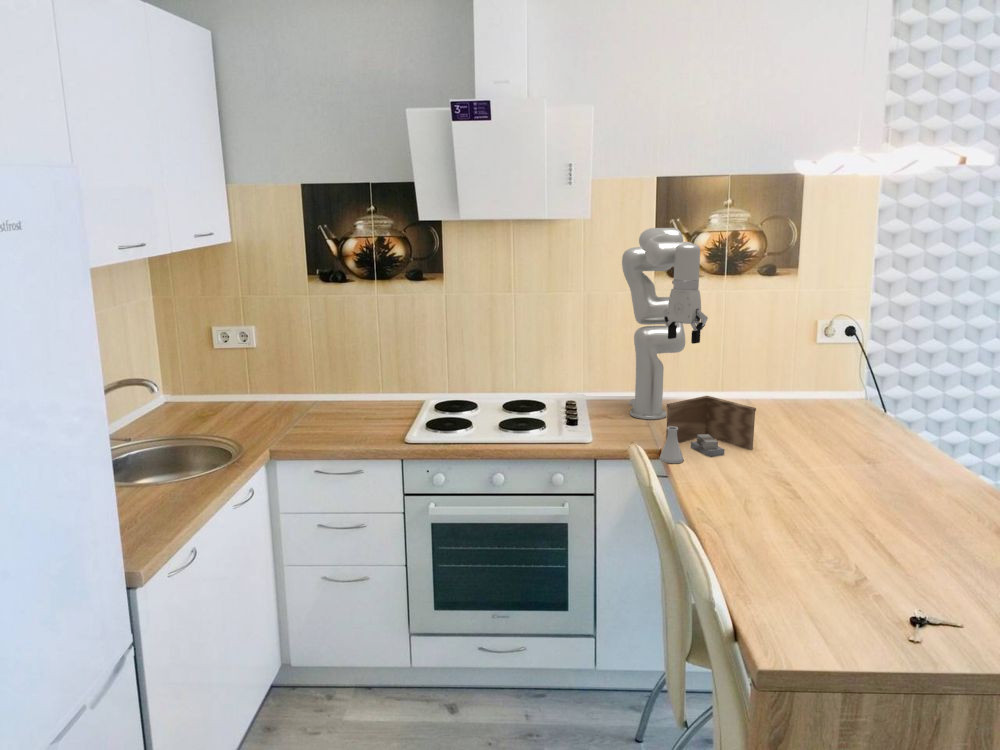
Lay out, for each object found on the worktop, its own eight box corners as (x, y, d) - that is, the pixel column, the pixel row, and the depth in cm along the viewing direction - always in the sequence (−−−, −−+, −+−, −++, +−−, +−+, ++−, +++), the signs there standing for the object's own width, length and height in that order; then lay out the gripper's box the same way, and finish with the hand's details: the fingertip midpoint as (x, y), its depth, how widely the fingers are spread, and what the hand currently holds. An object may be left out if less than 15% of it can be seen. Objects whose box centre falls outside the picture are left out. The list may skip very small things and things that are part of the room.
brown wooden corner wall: (665, 444, 268) (666, 404, 265) (705, 434, 278) (707, 395, 275) (713, 460, 253) (715, 417, 250) (753, 449, 263) (756, 408, 260)
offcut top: (696, 442, 264) (697, 434, 264) (708, 441, 264) (708, 434, 264) (705, 449, 256) (706, 442, 256) (717, 449, 257) (717, 441, 256)
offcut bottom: (690, 449, 264) (690, 442, 264) (704, 447, 266) (704, 440, 266) (710, 458, 255) (710, 451, 255) (724, 456, 257) (724, 449, 257)
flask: (684, 464, 249) (685, 431, 246) (658, 463, 250) (659, 430, 248) (683, 457, 256) (685, 424, 253) (659, 455, 257) (660, 423, 255)
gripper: (656, 283, 265) (654, 338, 269) (699, 289, 251) (696, 346, 255) (673, 281, 269) (671, 335, 273) (716, 287, 255) (713, 343, 259)
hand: (683, 340), depth 264 cm, fingers open, 9 cm apart
